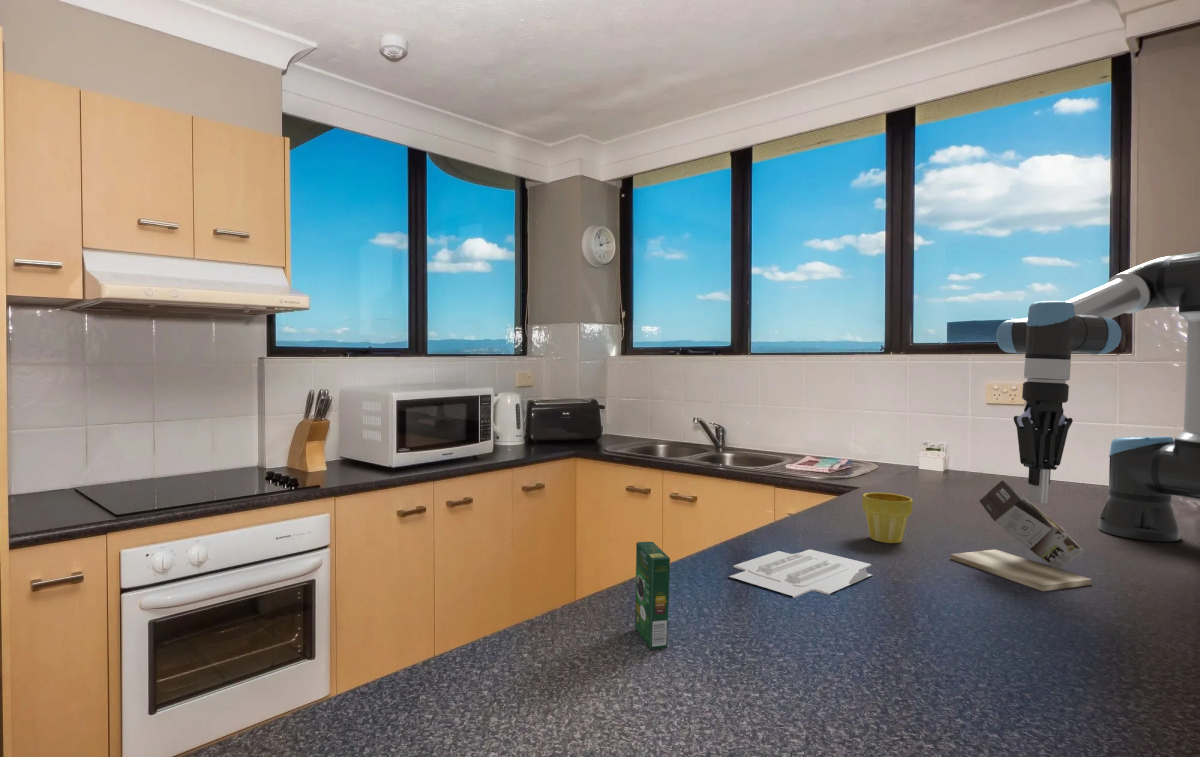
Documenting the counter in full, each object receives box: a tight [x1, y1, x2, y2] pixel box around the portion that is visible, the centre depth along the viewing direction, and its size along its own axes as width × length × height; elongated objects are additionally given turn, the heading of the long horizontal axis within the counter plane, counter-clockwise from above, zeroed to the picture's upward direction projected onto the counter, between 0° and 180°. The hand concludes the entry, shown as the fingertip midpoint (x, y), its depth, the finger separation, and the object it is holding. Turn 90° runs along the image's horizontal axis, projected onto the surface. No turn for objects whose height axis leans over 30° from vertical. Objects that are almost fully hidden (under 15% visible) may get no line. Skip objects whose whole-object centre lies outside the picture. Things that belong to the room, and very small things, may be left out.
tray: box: [727, 549, 874, 599], centre depth 129 cm, size 20×28×4 cm
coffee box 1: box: [634, 541, 671, 651], centre depth 97 cm, size 8×3×13 cm, turn 13°
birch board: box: [950, 549, 1093, 592], centre depth 131 cm, size 12×20×1 cm, turn 19°
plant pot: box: [861, 492, 914, 544], centre depth 153 cm, size 10×10×10 cm
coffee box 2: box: [979, 479, 1084, 570], centre depth 133 cm, size 9×6×16 cm
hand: (1037, 501), depth 133 cm, fingers closed
